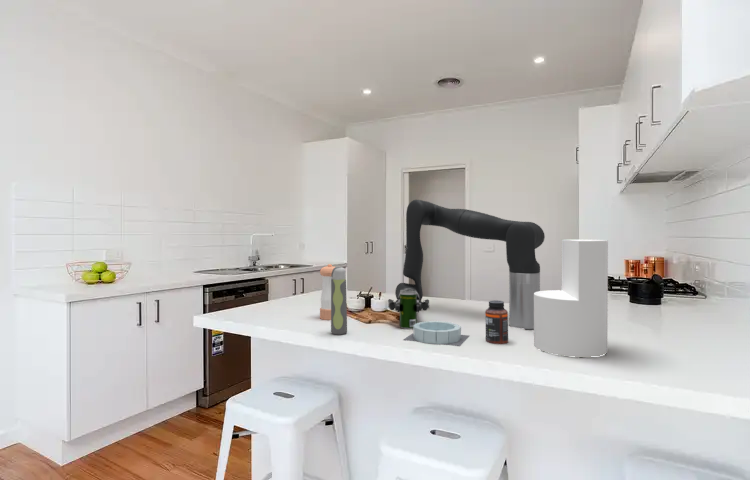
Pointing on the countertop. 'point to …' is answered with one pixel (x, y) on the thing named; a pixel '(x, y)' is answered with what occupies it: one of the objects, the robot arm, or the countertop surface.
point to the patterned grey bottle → (338, 302)
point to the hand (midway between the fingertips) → (408, 308)
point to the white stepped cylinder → (575, 303)
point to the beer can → (408, 308)
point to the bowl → (437, 332)
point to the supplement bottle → (496, 323)
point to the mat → (459, 343)
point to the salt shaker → (326, 292)
